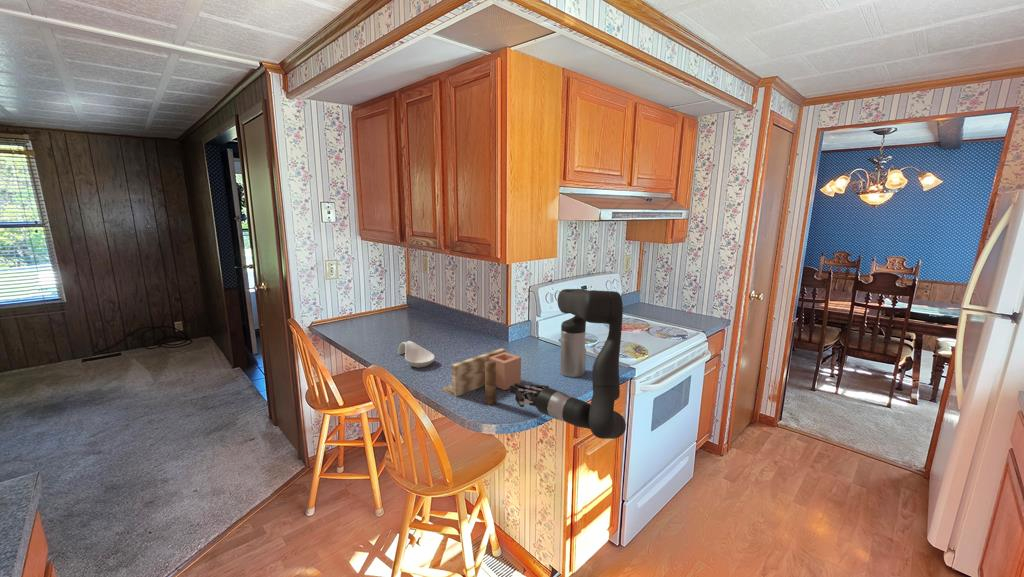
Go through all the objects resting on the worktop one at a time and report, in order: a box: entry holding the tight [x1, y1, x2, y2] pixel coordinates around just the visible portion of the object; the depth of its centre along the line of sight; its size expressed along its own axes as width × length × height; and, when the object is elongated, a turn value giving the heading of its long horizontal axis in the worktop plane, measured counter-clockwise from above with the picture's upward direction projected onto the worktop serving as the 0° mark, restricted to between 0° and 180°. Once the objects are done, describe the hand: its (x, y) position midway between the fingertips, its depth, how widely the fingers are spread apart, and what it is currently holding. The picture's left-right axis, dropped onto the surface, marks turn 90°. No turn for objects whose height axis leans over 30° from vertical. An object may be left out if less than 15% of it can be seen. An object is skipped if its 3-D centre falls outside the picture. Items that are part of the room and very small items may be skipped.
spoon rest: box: [397, 340, 436, 368], centre depth 181 cm, size 24×12×7 cm, turn 39°
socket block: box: [488, 351, 522, 391], centre depth 157 cm, size 8×8×10 cm
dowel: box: [484, 361, 497, 406], centre depth 142 cm, size 4×4×14 cm
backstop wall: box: [442, 347, 506, 397], centre depth 157 cm, size 24×7×11 cm, turn 136°
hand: (512, 387), depth 135 cm, fingers closed
